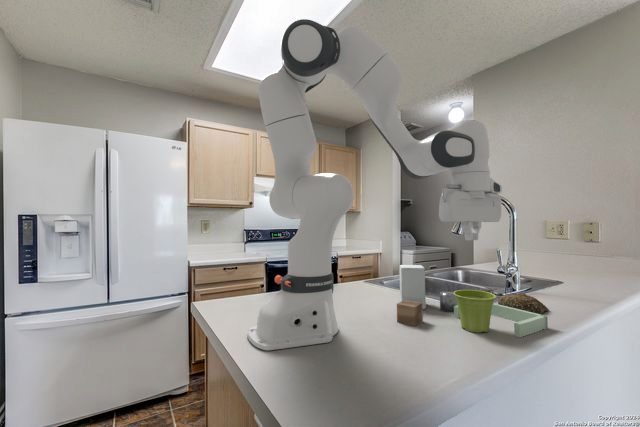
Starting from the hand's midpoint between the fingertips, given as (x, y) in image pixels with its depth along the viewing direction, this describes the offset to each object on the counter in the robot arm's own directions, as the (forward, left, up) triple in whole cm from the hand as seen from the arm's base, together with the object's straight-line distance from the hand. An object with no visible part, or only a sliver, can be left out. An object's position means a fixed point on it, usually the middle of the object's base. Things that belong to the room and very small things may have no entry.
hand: (471, 240), depth 75 cm
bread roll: (+28, +4, -23) cm, 36 cm away
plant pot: (0, 0, -22) cm, 22 cm away
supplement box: (+2, +23, -22) cm, 32 cm away
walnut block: (-10, +12, -22) cm, 27 cm away
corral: (+9, 0, -22) cm, 24 cm away
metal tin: (+8, +14, -22) cm, 27 cm away
